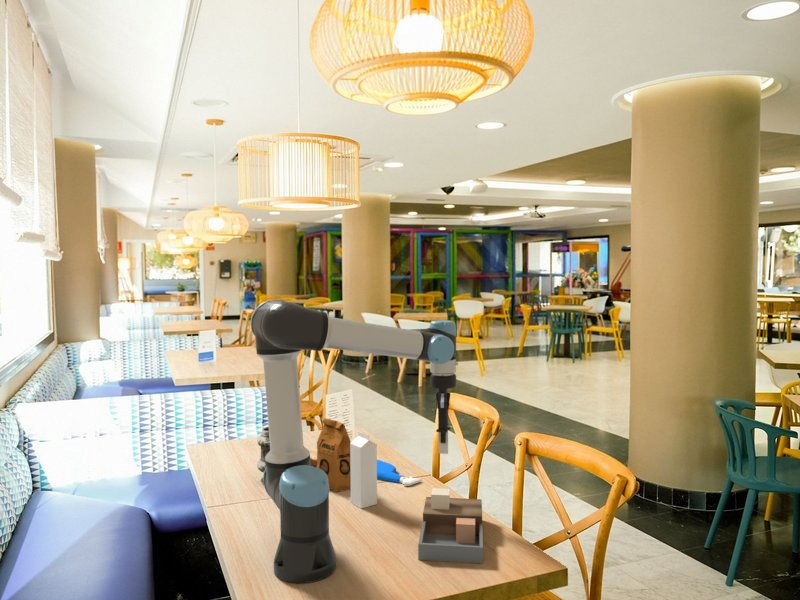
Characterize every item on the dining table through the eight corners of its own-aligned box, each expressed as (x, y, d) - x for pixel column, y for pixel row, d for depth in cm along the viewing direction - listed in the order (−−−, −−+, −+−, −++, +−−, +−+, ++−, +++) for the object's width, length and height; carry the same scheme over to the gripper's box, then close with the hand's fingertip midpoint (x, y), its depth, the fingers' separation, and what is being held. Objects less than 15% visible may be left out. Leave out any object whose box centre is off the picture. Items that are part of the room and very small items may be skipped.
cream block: (449, 509, 167) (449, 495, 167) (431, 508, 168) (431, 494, 167) (449, 502, 172) (449, 488, 172) (432, 501, 173) (432, 488, 172)
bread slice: (277, 457, 234) (277, 447, 234) (324, 452, 239) (323, 443, 239) (282, 472, 217) (282, 461, 217) (332, 467, 222) (332, 457, 222)
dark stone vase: (290, 472, 216) (289, 422, 215) (295, 483, 204) (294, 431, 203) (255, 476, 212) (254, 425, 211) (259, 488, 200) (258, 434, 199)
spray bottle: (354, 464, 216) (402, 483, 199) (376, 457, 224) (425, 474, 206) (354, 472, 216) (402, 491, 199) (376, 465, 224) (424, 483, 207)
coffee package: (333, 494, 194) (332, 427, 193) (313, 483, 204) (312, 419, 203) (358, 487, 201) (358, 422, 199) (338, 477, 210) (337, 415, 209)
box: (482, 563, 149) (483, 547, 149) (418, 559, 151) (418, 544, 151) (482, 538, 163) (482, 523, 163) (422, 535, 165) (422, 520, 165)
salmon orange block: (475, 536, 163) (475, 543, 159) (456, 535, 163) (455, 542, 159) (475, 518, 162) (475, 524, 158) (456, 517, 163) (456, 524, 159)
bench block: (482, 538, 163) (482, 516, 163) (422, 535, 165) (422, 513, 164) (481, 519, 175) (481, 499, 174) (426, 517, 177) (426, 496, 176)
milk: (361, 509, 183) (360, 437, 181) (350, 502, 188) (349, 432, 186) (377, 504, 186) (376, 433, 185) (366, 498, 191) (366, 429, 190)
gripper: (455, 377, 170) (455, 460, 171) (456, 369, 182) (457, 446, 184) (428, 377, 171) (428, 459, 172) (432, 369, 183) (432, 445, 185)
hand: (443, 452), depth 178 cm, fingers closed
